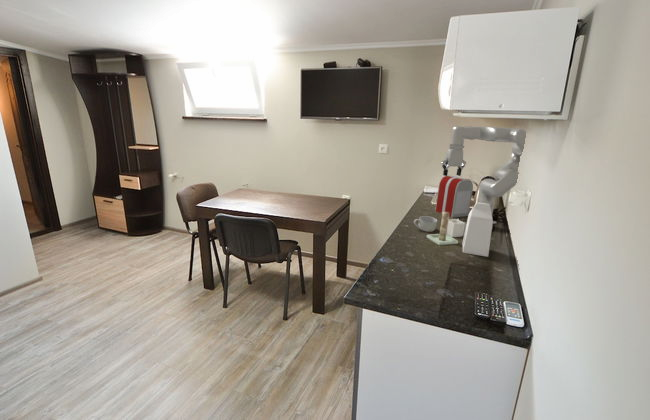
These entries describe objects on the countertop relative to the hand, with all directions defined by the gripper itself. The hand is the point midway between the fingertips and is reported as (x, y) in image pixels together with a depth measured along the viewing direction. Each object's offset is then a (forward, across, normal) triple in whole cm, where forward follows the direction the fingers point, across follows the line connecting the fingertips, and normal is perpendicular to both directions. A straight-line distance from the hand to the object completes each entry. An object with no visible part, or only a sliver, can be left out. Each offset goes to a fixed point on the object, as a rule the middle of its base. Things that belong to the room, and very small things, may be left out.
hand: (451, 175), depth 200 cm
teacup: (+34, +18, +5) cm, 38 cm away
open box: (+33, +5, +16) cm, 37 cm away
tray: (+33, +18, +23) cm, 44 cm away
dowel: (+32, +18, +23) cm, 44 cm away
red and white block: (+34, -25, -26) cm, 49 cm away
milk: (+34, +8, +38) cm, 51 cm away
